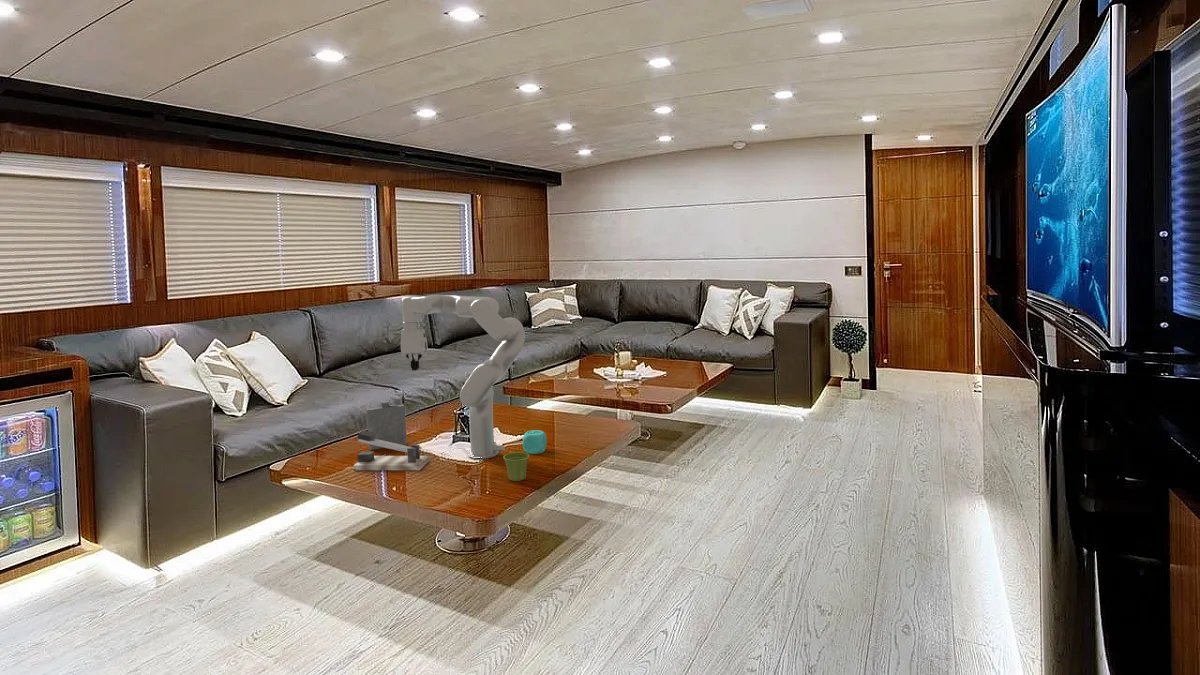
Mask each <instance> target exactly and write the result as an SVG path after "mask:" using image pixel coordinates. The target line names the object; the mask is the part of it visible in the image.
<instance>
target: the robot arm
mask: <svg viewBox="0 0 1200 675" xmlns="http://www.w3.org/2000/svg"><path fill="white" fill-rule="evenodd" d="M401 310H402V311H401V314H402V327H403V329H401V333H400V334H401V335H400V351H401V354H400V355H401V356H402V357H405V358H407V359H408V360H409V362H410V369H411V371H413V372H414V371H418V370H419V368H420V360H421V359H422V357H425V356H428V350H429V349H428V347H429V346H428V341H427V340H428V339H427V334H426V331H425V328H423V327H426V323H424V322H423V320H422V319H423V318H422V315H425V316H426V315H430V314H431V315H432V314H436V313H445V314H455V315H457V316H458V317H460V318H473V319H474V320H475V321H476V323H477V324H478V325H479V326H480V327H481V328H482V329H483V330H484V331H485V332H486V333H487V334H488V335H489V336H490V337H491V338H492V339H494V340H496V341H497V342H500V343H499V345H498V346H497V347H496V349H495V351H494V352H493V353H492V355H491V356H490V357H489V359H487V360H486V361H485V360H484V361H483V362H481V363H479V364H478V365H477V366H476V367H475V369H474V370H472V372H471V374H470V375H469V377H468V378H467V379H466V381H465V383H464V384H463V386H462V387H461V389H460V390H459V400H460V402H461V404H462V405H463V406H465V407H467V408H468V410H469V412H468V414H469V437H470V440H469V441H470V450H471V453H472V455H474V456H473V457H480V458H481V457H482V458H485V459H490V458H494V457H496V456H498V454H499V452H504V451H505V446H503V445H500V444H499V445H498V444H497V442H496V441H495V436H494V434H495V433H494V414H493V413H494V408H493V406H494V394H495V393H494V387H493V386H494V385H495V384H496V383H499V382H500V381H501V380H502V379H503V378H504V376H505V375H506V373H507V372H508V370H509V369H510V367H511V366H512V365H513V363H514V361H515V360H516V358H517V357H518V356H519V354H520V353H521V351H522V349H523V347H524V345H525V340H526V333H525V328H524V326H523V324H522V323H521V321H520V320H519V319H518V318H515V317H510V316H509V317H504V318H503V317H502V316H501V315H500V314H499V310H500V305H499V302H498V301H497V300H496V299H495V298H494V297H493V298H492V297H489V296H487V297H486V296H471V295H470V296H468V295H450V294H429V295H424V296H417V295H409V296H404V297H402V299H401ZM414 354H415V355H414ZM468 455H469V454H468ZM472 455H470V456H472Z"/></svg>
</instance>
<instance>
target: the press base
mask: <svg viewBox="0 0 1200 675" xmlns="http://www.w3.org/2000/svg"><path fill="white" fill-rule="evenodd" d="M410 447H414V448H408V449H407V452H408V453H407V452H406V453H407V455H375V451H360V452H359V453H358V454H357V455H356V456H357V462H356V463H355V464H353V470H354V469H356V470H355V471H420V470H421V469H423V468H424V466H425V465H427V463H429V461H430V455H421V453H420V452H421V450H420V444H411V445H410Z"/></svg>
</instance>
